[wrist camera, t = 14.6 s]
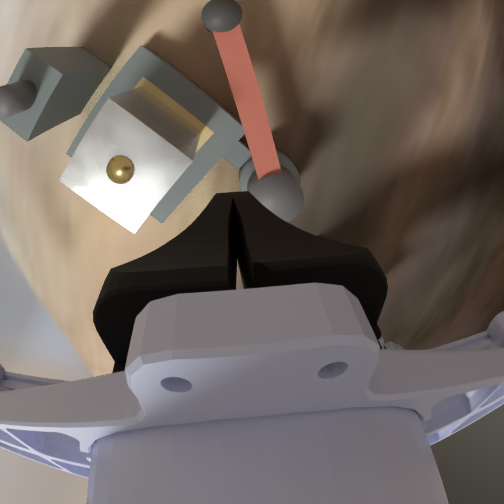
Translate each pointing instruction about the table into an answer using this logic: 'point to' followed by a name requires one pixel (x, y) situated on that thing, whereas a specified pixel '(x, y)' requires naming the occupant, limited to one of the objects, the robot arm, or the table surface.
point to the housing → (131, 156)
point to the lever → (252, 113)
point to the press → (130, 77)
